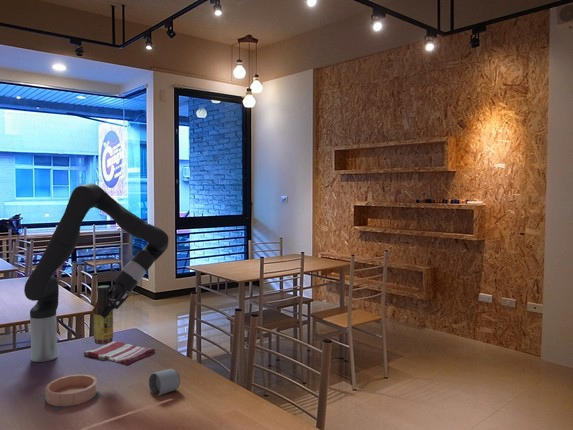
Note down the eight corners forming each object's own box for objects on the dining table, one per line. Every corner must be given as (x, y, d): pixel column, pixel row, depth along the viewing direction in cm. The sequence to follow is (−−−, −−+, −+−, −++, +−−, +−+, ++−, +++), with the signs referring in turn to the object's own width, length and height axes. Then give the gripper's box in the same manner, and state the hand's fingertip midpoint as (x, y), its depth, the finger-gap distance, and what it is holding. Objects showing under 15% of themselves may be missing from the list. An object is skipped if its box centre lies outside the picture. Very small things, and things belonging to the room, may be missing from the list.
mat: (40, 396, 155) (40, 395, 155) (87, 383, 165) (87, 382, 165) (55, 413, 144) (55, 411, 144) (104, 398, 154) (104, 396, 154)
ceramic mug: (181, 391, 160) (181, 369, 159) (160, 399, 153) (160, 376, 153) (163, 383, 167) (163, 361, 166) (143, 390, 160) (142, 368, 160)
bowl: (40, 395, 155) (39, 383, 154) (87, 382, 165) (86, 370, 165) (55, 411, 144) (54, 398, 143) (104, 396, 154) (104, 384, 154)
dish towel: (124, 367, 181) (124, 360, 181) (82, 356, 192) (82, 350, 191) (155, 353, 196) (155, 347, 196) (114, 344, 207) (114, 338, 207)
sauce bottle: (106, 346, 163) (105, 289, 161) (90, 344, 164) (88, 288, 163) (117, 339, 169) (115, 285, 168) (101, 338, 171) (99, 284, 169)
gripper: (114, 267, 175) (82, 304, 168) (132, 272, 165) (98, 312, 158) (128, 279, 179) (97, 316, 172) (146, 285, 169) (114, 325, 162)
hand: (98, 314), depth 165 cm, fingers closed on sauce bottle, 6 cm apart
